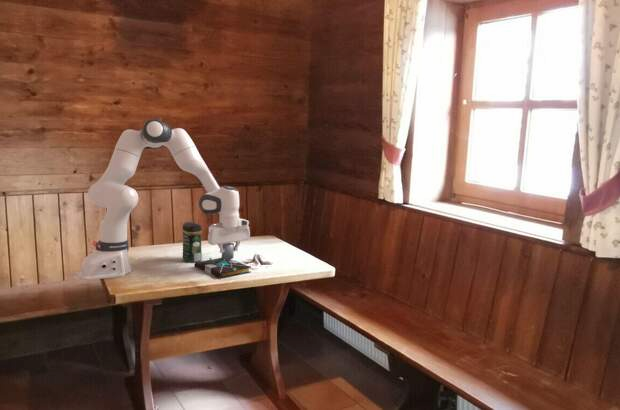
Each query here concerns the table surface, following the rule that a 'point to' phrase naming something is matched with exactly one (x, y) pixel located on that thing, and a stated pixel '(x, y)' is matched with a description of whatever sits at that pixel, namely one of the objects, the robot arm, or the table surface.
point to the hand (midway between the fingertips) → (228, 251)
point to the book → (222, 267)
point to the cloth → (257, 261)
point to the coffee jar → (192, 242)
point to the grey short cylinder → (228, 251)
